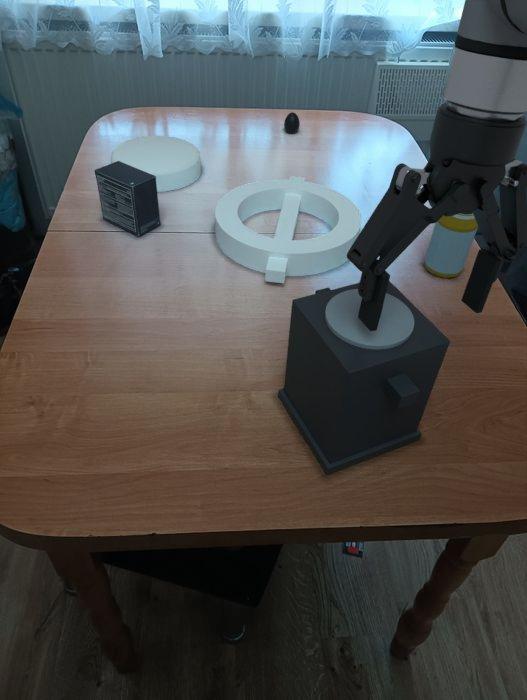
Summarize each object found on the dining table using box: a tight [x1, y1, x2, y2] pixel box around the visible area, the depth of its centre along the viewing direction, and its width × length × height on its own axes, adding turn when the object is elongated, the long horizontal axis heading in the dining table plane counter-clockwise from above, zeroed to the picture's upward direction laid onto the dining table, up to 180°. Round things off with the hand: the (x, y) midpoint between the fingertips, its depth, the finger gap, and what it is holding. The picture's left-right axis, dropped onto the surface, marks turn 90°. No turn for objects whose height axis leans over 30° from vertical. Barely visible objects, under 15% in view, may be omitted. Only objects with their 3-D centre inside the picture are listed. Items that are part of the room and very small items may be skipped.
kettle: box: [277, 280, 451, 476], centre depth 67 cm, size 20×15×20 cm
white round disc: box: [110, 135, 202, 193], centre depth 123 cm, size 20×20×5 cm
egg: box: [283, 111, 301, 135], centre depth 143 cm, size 4×4×5 cm
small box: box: [94, 161, 162, 237], centre depth 104 cm, size 11×6×10 cm, turn 53°
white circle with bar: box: [214, 175, 362, 284], centre depth 105 cm, size 28×28×5 cm
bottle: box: [423, 213, 479, 279], centre depth 95 cm, size 7×7×15 cm
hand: (421, 315), depth 59 cm, fingers open, 13 cm apart
